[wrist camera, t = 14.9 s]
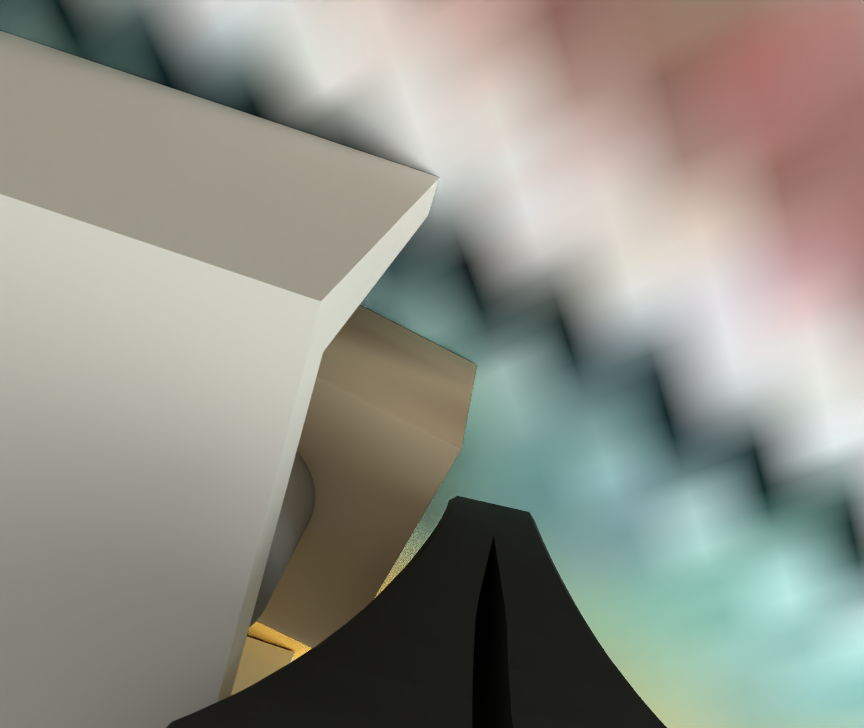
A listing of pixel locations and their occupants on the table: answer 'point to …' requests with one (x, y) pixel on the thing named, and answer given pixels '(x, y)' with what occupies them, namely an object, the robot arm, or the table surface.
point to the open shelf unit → (159, 375)
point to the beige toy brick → (361, 472)
